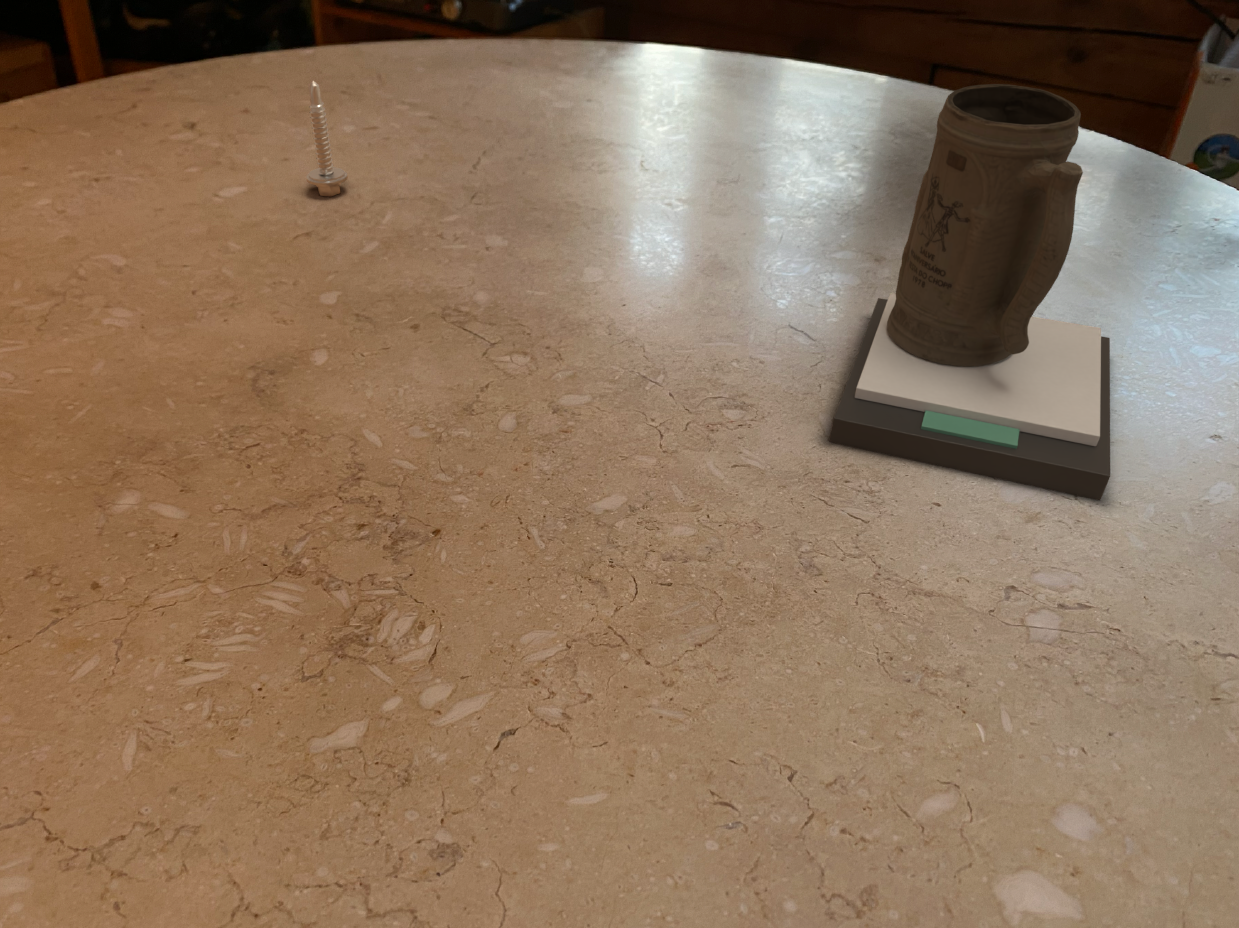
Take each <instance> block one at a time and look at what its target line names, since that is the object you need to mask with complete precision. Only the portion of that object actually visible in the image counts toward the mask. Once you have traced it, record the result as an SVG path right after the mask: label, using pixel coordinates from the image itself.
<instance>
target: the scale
mask: <svg viewBox="0 0 1239 928" xmlns="http://www.w3.org/2000/svg"><path fill="white" fill-rule="evenodd" d="M895 301H896V292H890V293H889V296H888V297H887V298H881V297H878V298H877V300H876V303H875V306H874V308H873V311H872V313H871V315H870V319H869V322H868V324H867V327H866V330H865V332H864V335H863V338H862V339H861V343H860V346H859V348H858V350H857V354H856V357H855V360H854V361H853V364H852V367H851V370H850V373H849V376H848V378H847V381H846V384H845V386H844V389H843V391H842V394H841V397H840V399H839V403H838V405H837V407H836V410H835V413H834V415H833V419H832V423H831V430H830V434H829V438H828V442H829V443H831V444H835V445H840V446H844V447H850V448H855V449H860V450H862V451H863V450H864V451H869V452H872V453H878V454H883V455H887V456H892V457H895V458H901V459H906V460H911V461H914V462H920V463H924V464H928V465H933V466H937V467H942V468H947V469H952V470H955V471H956V470H957V471H961V472H966V473H971V474H976V475H979V476H984V477H989V478H993V479H998V480H1003V481H1008V482H1013V483H1016V484H1021V485H1026V486H1031V487H1034V488H1035V487H1036V488H1040V489H1044V490H1049V491H1054V492H1059V493H1063V494H1067V495H1073V496H1078V497H1081V498H1086V499H1089V500H1095V501H1101V499H1102V498H1103V495H1104V492H1105V490H1106V488H1107V485H1108V482H1109V480H1110V478H1111V338H1110V337H1108V336H1103V335H1102V328H1101V327H1097V326H1090V325H1084V324H1080V323H1079V324H1078V323H1073V322H1067V321H1061V320H1056V319H1049V318H1043V317H1037V316H1033V315H1032V317H1031V318H1030V321H1029V324H1028V339H1029V344H1028V347H1027V348H1026V349H1025V350H1024V351H1023V352H1021V353H1018V354H1011V355H1010V356H1008V357H1007V358H1005V359H1003V360H1001V361H999V362H996V363H992V364H989V365H984V366H972V367H967V366H953V365H945V364H940V363H936V362H932V361H929V360H926V359H923V358H920V357H917V356H915V355H913V354H911V353H909V352H907V351H906V350H904V349H903V348H902V347H900V346H899V345H898V344H896V343H895V341H894V340H893V339H892V338H891V337H890V335H889V333H888V331H887V321H888V318H889V315H890V313H891V311H892V309H893V307H894V305H895Z"/></svg>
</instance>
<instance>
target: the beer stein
mask: <svg viewBox="0 0 1239 928" xmlns="http://www.w3.org/2000/svg"><path fill="white" fill-rule="evenodd" d="M1081 115H1082V114H1081V110H1080V109H1079V108H1078V107H1077V105H1075V104H1074V103H1073V102H1071V101H1070V100H1068V99H1066V98H1064V97H1062V96H1060V95H1058V94H1055V93H1053V92H1050V91H1048V90H1045V89H1042V88H1035V87H1029V86H1022V85H1015V84H1007V83H990V84H988V83H987V84H976V85H968V86H964V87H961V88H958V89H956V90H953V91H952V92H951V93H950V94H948V95H947V97H946V99H945V102H944V104H943V107H942V108H941V110H940V112H939V113H938V117H937V120H936V135H935V140H934V143H933V148H932V153H931V156H930V159H929V163H928V167H927V170H926V171H925V173H924V175H923V177H922V179H921V183H920V187H919V191H918V193H917V194H918V195H917V198H916V202H915V207H914V213H913V217H912V221H911V225H910V229H909V233H908V236H907V240H906V243H905V244H904V248H903V251H902V255H901V265H900V268H899V271H898V277H897V285H896V289H895V293H896V301H895V305H894V307H893V309H892V311H891V313H890V315H889V318H888V321H887V331H888V333H889V335H890V337H891V338H892V339H893V340H894V341H895V343H896V344H898V345H899V346H900V347H902V348H903V349H904V350H906V351H907V352H909V353H911V354H913V355H915V356H917V357H920V358H923V359H926V360H929V361H932V362H936V363H940V364H945V365H953V366H967V367H972V366H984V365H989V364H992V363H996V362H999V361H1001V360H1003V359H1005V358H1007V357H1008V356H1010V355H1011V354H1018V353H1021V352H1023V351H1024V350H1025V349H1026V348H1027V347H1028V344H1029V339H1028V324H1029V321H1030V318H1031V317H1032V316H1033V315H1034V313H1035V312H1036V310H1037V308H1038V307H1039V306H1040V305H1041V304H1042V302H1043V301H1044V300H1045V298H1046V296H1047V295H1048V294H1049V292H1050V291H1051V290H1052V287H1053V286H1054V285H1055V283H1056V281H1057V280H1058V277H1059V276H1060V273H1061V271H1062V269H1063V266H1064V264H1065V261H1066V259H1067V256H1068V253H1069V251H1070V247H1071V243H1072V240H1073V234H1074V233H1073V232H1074V225H1075V224H1074V222H1075V212H1076V201H1077V200H1076V199H1077V193H1078V187H1079V184H1080V182H1081V179H1082V177H1083V174H1084V171H1083V169H1082V168H1083V167H1082V166H1081V165H1079V164H1078V163H1076V162H1072V161H1068V159H1069V156H1070V155H1071V153H1072V150H1073V147H1075V145H1076V143H1077V141H1078V138H1079V135H1080V134H1079V133H1080V131H1079V126H1080V122H1081Z"/></svg>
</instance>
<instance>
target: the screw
mask: <svg viewBox="0 0 1239 928" xmlns="http://www.w3.org/2000/svg"><path fill="white" fill-rule="evenodd" d="M307 85H308V92H309V101H310V102H309V103H310V106H308V108H310V111H309V114H310V117H309V118H310V119H311V122H310V124H311V125H312V127H311V129H312V130H313V132H312V135H314V137H313V140H314V142H313V144H314V145H315V147H314V150H316V152H315V155H317V156H316V160H317V161H318V162H316V164H317V165H318V167H317V168H314V169H312V170H310V171H309V172H308V173H307V174H306V176H305V177H306V182H307V183H308V184H310V185H313V186H316V187H317V191H318V194H319V196H320V197H329V198H330V197H334V196H337V195H339V194H341V187H340V185H341V184H342V183H344V182H345V181H347V180H348V176H349V175H348V172H347V171H345V170H344V169H343V168H341V167H337V166H334V163H333V160H334V159H333V158H332V156H333V153H332V148H331V146H332V145H331V143H330V141H331V139H330V138H329V136H330V134H329V132H328V131H329V128H328V125H329V124H328V122H327V121H328V118H327V117H326V116H327V112H325V111H326V107H325V106H324V105H325V102H324V101H323V100H322V94H321V88H320V84H318V83H317V82H316V81H315V80H312V81H310V82H309V83H308V84H307Z"/></svg>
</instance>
